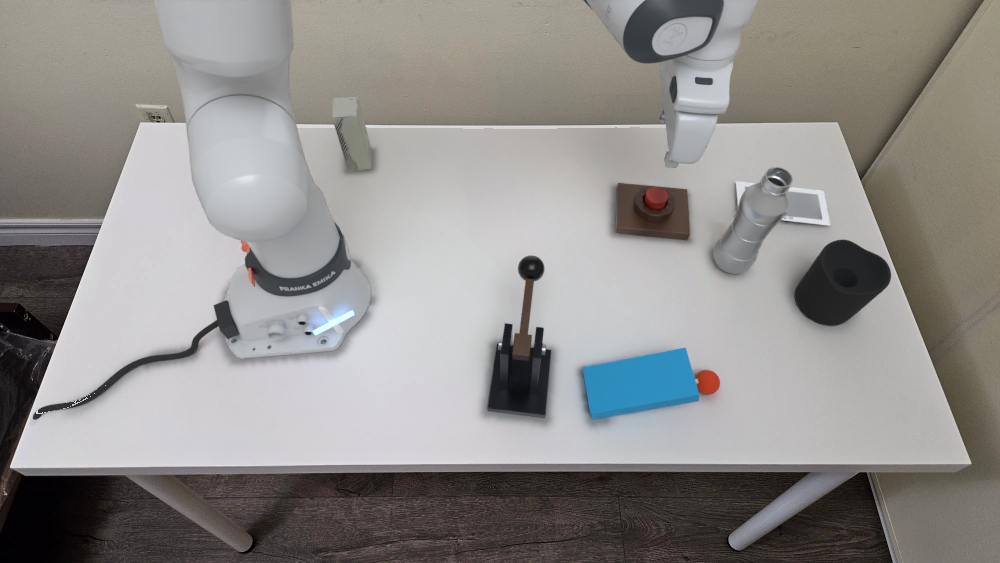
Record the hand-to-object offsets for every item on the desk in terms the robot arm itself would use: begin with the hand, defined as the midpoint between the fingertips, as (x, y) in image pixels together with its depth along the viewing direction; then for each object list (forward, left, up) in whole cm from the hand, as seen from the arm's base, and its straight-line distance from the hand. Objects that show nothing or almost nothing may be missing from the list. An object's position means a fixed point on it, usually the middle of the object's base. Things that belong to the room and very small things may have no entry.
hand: (667, 142), depth 86 cm
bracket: (-30, -24, -16) cm, 42 cm away
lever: (-28, -18, -6) cm, 34 cm away
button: (+1, -1, -13) cm, 13 cm away
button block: (+1, -1, -16) cm, 16 cm away
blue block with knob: (-13, -30, -17) cm, 37 cm away
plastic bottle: (+9, -14, -17) cm, 23 cm away
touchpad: (+23, -6, -17) cm, 29 cm away
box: (-45, +26, -17) cm, 55 cm away
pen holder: (+19, -25, -17) cm, 35 cm away
